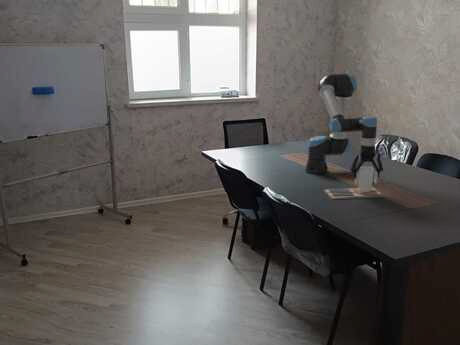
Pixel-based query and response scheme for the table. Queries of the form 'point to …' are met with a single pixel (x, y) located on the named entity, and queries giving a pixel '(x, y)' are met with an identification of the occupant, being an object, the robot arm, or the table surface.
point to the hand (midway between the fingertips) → (365, 183)
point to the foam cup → (365, 178)
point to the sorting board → (351, 193)
